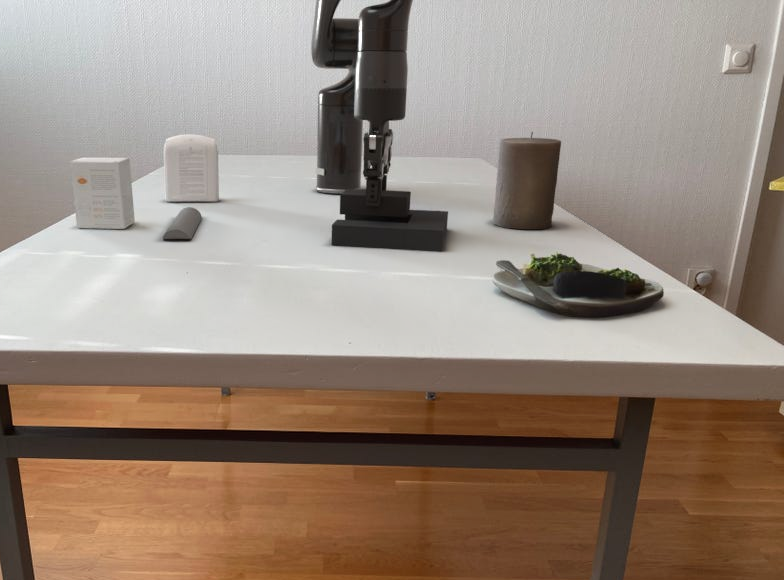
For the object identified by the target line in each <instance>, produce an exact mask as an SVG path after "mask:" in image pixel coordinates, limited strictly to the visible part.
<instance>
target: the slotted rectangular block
mask: <svg viewBox="0 0 784 580" xmlns="http://www.w3.org/2000/svg"><path fill="white" fill-rule="evenodd" d="M448 217H449V211H448V210H427V209H425V210H424V209H423V210H422V209H410V211H409V213H408V215H407V216H406V217H386V216H365V215H344V219H336V220H335V221H334V222H333V223H332V224H331V246H339V247H340V246H341V247H359V248H376V249H393V250H394V249H395V250H397V249H398V250H409V251H410V250H411V251H429V252H442V251H443V248H444V244H445V240H446V235H447V230H448V221H449V220H448V219H449V218H448Z"/></svg>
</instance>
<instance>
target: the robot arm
mask: <svg viewBox="0 0 784 580" xmlns="http://www.w3.org/2000/svg"><path fill="white" fill-rule="evenodd" d="M341 1H342V0H316V2H315V10H314V16H313V23H312V32H311V40H310V54H311V55H310V56H311V61H312V63H313V65H314V66H315V67H317V68H319V69H325V70H326V69H327V70H330V69H332V70H348V72H347V75H346V76H345V77H344V78H342V79H341V80H340V81H338V82H337V83H335V84H332V85H330V86H327V87H324V88H321V89H319V91H318V93H317V135H316V136H317V145H316V147H317V148H316V149H317V150H316V167H315V174H316V186H315V187H316V188H315V191H316V192H318V193H324V194H332V195H340V194H341V193H343V192H344V191H345V190H346V189H362V175H363V177H364V180H366V181H365V190H366V205H367V206H379V205H380V204H381V190H387V184H388V183H387V182H388V174H389V172H390V167H391V166H392V165H391V160H392V154H393V153H392V152H393V151H392V149H393V148H392V146H393V142H394V132H393V130H392V128H390V122H392V121H397V122H398V121H402V120H405V118H406V113H407V112H406V109H407V91H408V72H409V67H408V52H407V51H408V39H409V38H408V37H409V23H410V15H411V10H412V6H413V2H414V0H388V1H385V2H384V3H383V2H382V3H378V4H373V5H369V6H366V7H364V8H362V9H361V11H360V12H359V16H358V18H347V17H346V18H345V17H344V18H343V17H341V18H340V17H339V18H338V17H337V18H336V17H335V18H334V16H335V14H336V11H337V9H338V7H339V5H340V2H341ZM364 121H367V122H368V131H367V132H365V133H363V132H364V131H363V130H364V128H363V127H364ZM362 159H363V160H362ZM362 161H363V162H362ZM362 163H363V170H362Z"/></svg>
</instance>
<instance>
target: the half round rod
mask: <svg viewBox="0 0 784 580" xmlns="http://www.w3.org/2000/svg"><path fill="white" fill-rule="evenodd" d="M202 218H203V216H202V213H201V212H200V211H199V210H198V209H197V208H195V207H191V206H189V207H188V206H187V207H184V208H181V210H180V211H179V212H178V213H177V215H176V217H175V218H174V220H173V221H172V223H171V224H170V226H169V227H168V228H167V230H166V231H165V233H164V234H163V235H162V239H163V240H191V239H193V236H194V234H195V233H196V230H197V228H198V227H199V225H200V223H201V220H202Z"/></svg>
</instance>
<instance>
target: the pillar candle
mask: <svg viewBox="0 0 784 580" xmlns="http://www.w3.org/2000/svg"><path fill="white" fill-rule="evenodd" d="M533 135H534V132H533V131H531V133H530V137H512V138H511V137H508V138H501V139H499V149H498V159H497V161H498V162H497V172H496V183H495V193H494V194H495V195H494V203H493V217H492V223H493V224H494V225H495V226H496V227H501V228H507V229H515V230H517V229H518V230H545V229H548V228H550V227H553V224H552V223H553V215H554V209H555V198H556V196H555V195H556V189H557V184H558V183H557V182H558V172H559V165H560V156H561V147H562V141H561V140H560V139H555V138H546V137H533Z"/></svg>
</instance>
